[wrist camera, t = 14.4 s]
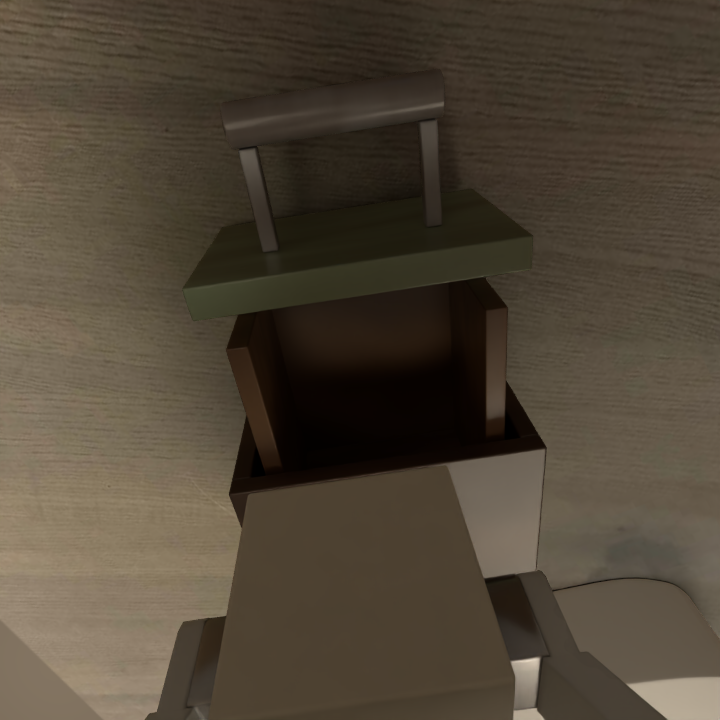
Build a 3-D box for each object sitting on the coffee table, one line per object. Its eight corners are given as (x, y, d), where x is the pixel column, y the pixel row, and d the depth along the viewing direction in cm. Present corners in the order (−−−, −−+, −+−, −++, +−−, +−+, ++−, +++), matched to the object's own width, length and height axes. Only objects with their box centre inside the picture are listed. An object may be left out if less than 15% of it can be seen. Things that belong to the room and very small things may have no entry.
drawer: (186, 105, 19) (121, 120, 13) (471, 60, 19) (543, 54, 13) (285, 452, 29) (275, 558, 22) (476, 423, 29) (519, 522, 22)
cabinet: (255, 371, 27) (228, 494, 19) (481, 337, 27) (547, 447, 19) (305, 544, 34) (301, 683, 26) (482, 518, 34) (530, 650, 26)
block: (246, 492, 11) (204, 726, 7) (447, 463, 10) (518, 680, 7) (288, 611, 13) (274, 837, 9) (453, 587, 13) (509, 803, 9)
